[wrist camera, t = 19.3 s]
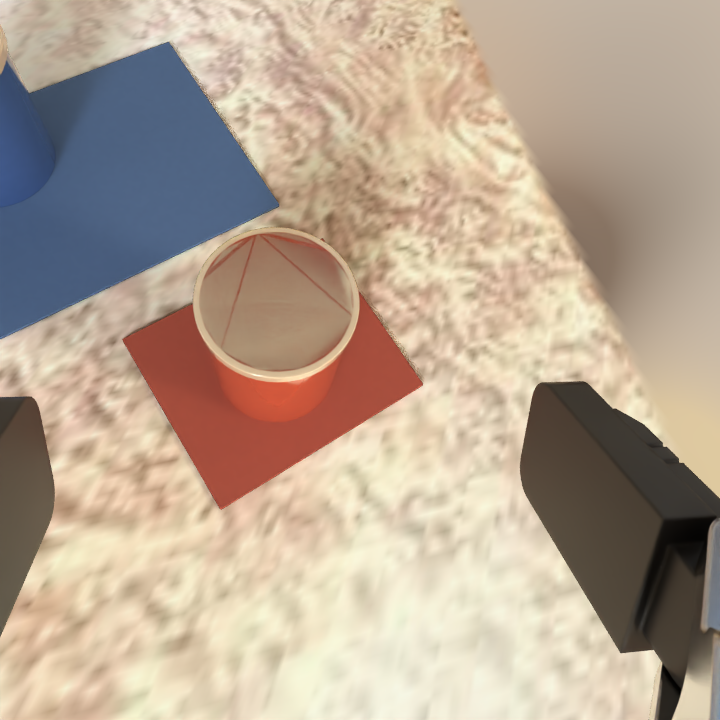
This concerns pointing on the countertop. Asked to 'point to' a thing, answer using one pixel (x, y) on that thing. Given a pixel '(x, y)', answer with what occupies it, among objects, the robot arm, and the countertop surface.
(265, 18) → the countertop surface
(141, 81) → the blue mat
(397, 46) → the countertop surface
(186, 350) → the rust mat
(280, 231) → the red tapered cylinder
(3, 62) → the blue crock
